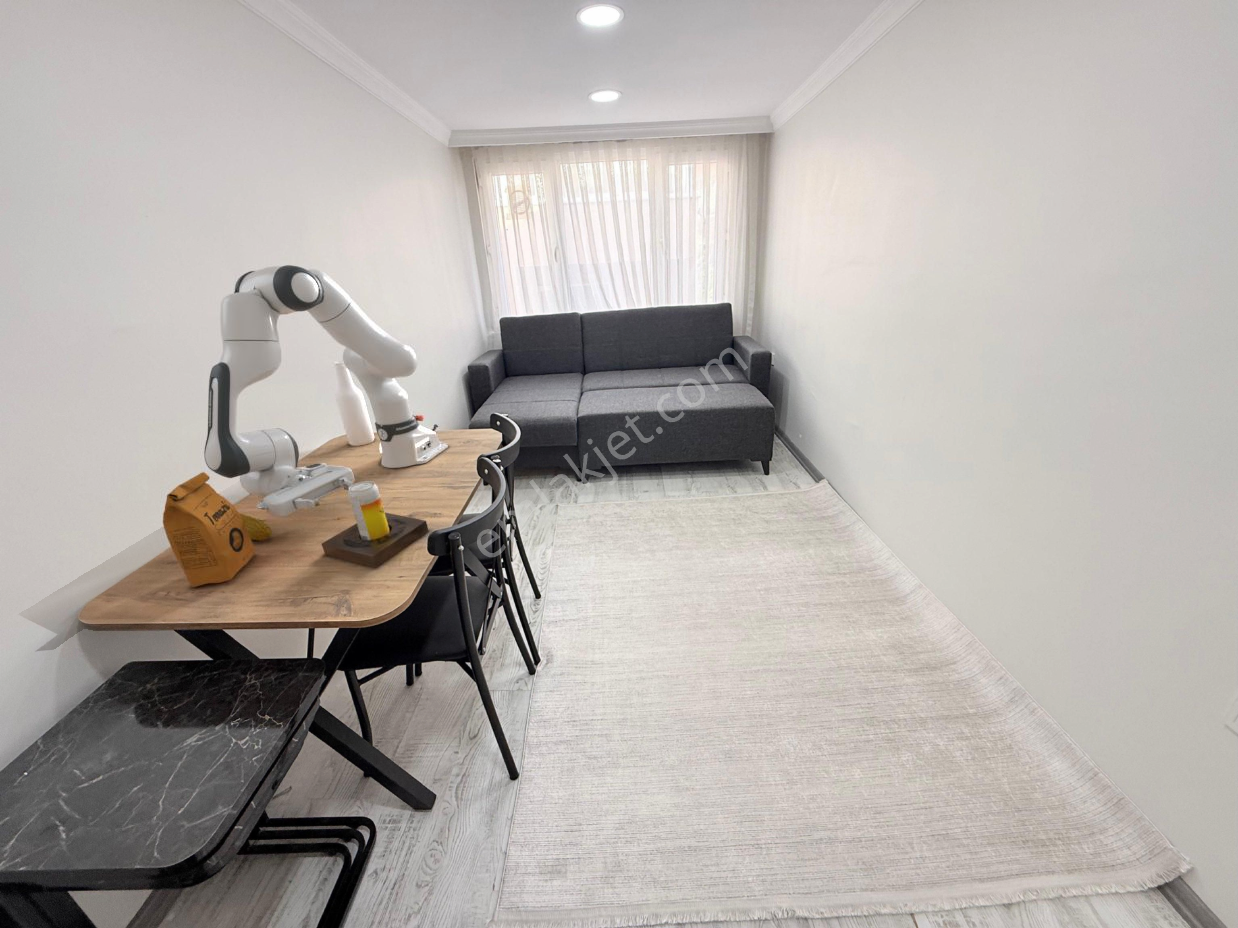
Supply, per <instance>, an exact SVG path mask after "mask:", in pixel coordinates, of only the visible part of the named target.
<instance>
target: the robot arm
mask: <svg viewBox="0 0 1238 928" xmlns="http://www.w3.org/2000/svg"><path fill="white" fill-rule="evenodd" d="M298 312H308V314H310V316H311V317H312V318H313V319H314V320H315V321H316V322H317V323H318V324H319V325H320V326H321V327H322V328H323V330H325V331H326V332H327V334H328V335H330V337H332V339H333V340H334V341H335V342H337V343H338V344H340V345H341V346H343V347H345V348H344V350H343V352H342V361H343V362H344V364H345V366H346V367H347V369H348V370H349V372H351V373H352V374H353V375H354V376H355V377H356V379H357V380H358V382H359V383H360V385H361V387H362V388H363V390H364V392H365V394H366V396H367V398H368V400H369V403H370V407H371V408H372V409H371V410H372V412H373V416H374V420H375V422H374V426H375V430H376V433H377V436H378V438H379V452H380V453H381V454H380V455H381V459H380V461H381V462H380V464H381V466H382V467H385V468H388V469H389V468H390V469H392V468H393V469H397V468H399V469H400V468H406V467H411V466H414V465H422V464H426V463H428V462H430V461H431V460H432V459H434V458H435V457H436V456H438V455H439V454H441V453H442V452H443V451H445V450H446V449H448V448H449V446H448V443H446V442H443V441H440V439H439V436H438V434H437V433H436V430H437V428H438V427H439V425H438V424H436V423H435V424H433V428H432V429H430V428H427V427H425V426H423V425H422V424H420V423H419V422H423V421H424V415H422V414H416V415H414V414H413V411H412V409H411V408H412V407H411V402H410V399H409V394H408V393H407V392H406V390H405V389H404V388H403V387H401V386H400V385H399V383H398V382H397V381H396V379H397V380H398V379H402V378H407V377H411V375H413V374H414V373H415V371H416V369H417V366H418V359H417V354H416V353H415V351H414V349H413V348H411V346H409V345H407V344H405V343H403V342H401V341H399V340H398V339H396V338H394V337H393V336H392V335H390V334H389V333H388V332H386V331H385V330H384V329H383V328H381V327H380V326H379V325H378V324H376V323H375V322H374V321H373V320H371V319H370V318H369V317H368V316H367V315H366V313H365V312H364V311H363V310H362V309H361V308H360V306H358V304H357V303H356V302H355V301H354V300H353V298H351V296H350V295H349V294H348V293H347V292H346V291H345V290H344V289H343V288H342V287H341V286H340V285H339V284H338V283H337V282H336V281H335V280H333V279H332V278H331V277H330V276H329V275H328V274H327V273H326V272H324V271H322V270H320V269H314V268H313V269H311V268H310V269H306V268H305V267H301V266H298V265H290V264H287V265H282V266H281V265H280V266H279V265H277V266H275V265H274V266H266V267H263V268H262V269H261V268H260V269H258V270H250V271H248V272H246V273H244V274H242V275H241V276H240V277H239V278H238V279H237V281H236V282H235V286H234V292H232V293H230V294H228V295H226V296H224V298H222V300H221V303H220V319H219V320H220V334H221V335H220V336H221V341H222V354H221V357H220V359H219V361H218V363H217V364H215V365H214V366H212V367H211V370H210V374H209V378H208V379H209V380H208V401H207V402H208V403H207V435H206V440H205V445H204V452H203V453H204V455H203V456H204V462H205V464H206V466H207V468H208V469H209V470H210V471H212V472H213V473H215V474H217V475H219V476H221V477H224V478H227V479H234V478H236V477H237V478H238V477H239V483H240V486H241V488H242V489H243V490H244V491H246V492H247V493H248V494H249V495H251V496H253V497H256V498H259V499H262V500H260V501H259V502H258V504H256V508H257V509H258V510H263V511H266V512H267V513H268V514H270V515H272V516H275V517H278V518H282V517H283V518H284V517H287V516H289V515H291V514H293V513H295V512H297V511H300V510H303V509H315V508H317V507H318V506H320V502H319V500H321V499H324V498H325V497H327V496H329V495H332V494H333V493H335V492H337V491H340V490H341V489H344V490H345V491H349V487H350V486H352V485H353V484H354V483H355V475H354V472H353V470H352V469H351V468H349V467H346V466H342V465H333V464H332V465H327V464H326V463H325V462H317V463H313V464H310V465H305V466H299V467H298V464H299V460H300V459H299V458H300V450H299V446H298V443H297V441H296V440H295V438H294V437H293V436H292V435H291V434H289V432H287V431H286V430H284V429H282V428H280V427H278V428H269V429H261V430H260V429H259V430H254V431H246V432H239V433H238V432H237V415H238V414H237V410H238V407H237V406H238V398H239V396H240V394H241V393H242V392H243V391H244V390H245V389H247V388H248V387H251V386H252V385H254V384H256V383H258V382H261V381H263V380H265V379H268V378H269V377H270V376H272V375H273V374H274V373H275V372H276V371H277V370H278V369H279V368H280V367H281V363H282V348H281V342H280V337H279V332H278V328H277V327H278V325H277V324H278V320H279V317H280V316H281V315H288V314H292V313H298Z"/></svg>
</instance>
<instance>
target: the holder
mask: <svg viewBox="0 0 1238 928" xmlns="http://www.w3.org/2000/svg"><path fill="white" fill-rule="evenodd" d="M385 516H386V519H387V523H388V527H389V530H390V533H388V534H387V535H385V536H383V537H381V538H378V539H374V540H362V538H361V535H360V532H359V529H358V525H357V522H355V523H354V524H353V525H351V526H349V527H348V528H346V529H344V530H343V531H341V532H339V533H337V534H335V535H334V536H332V537H331V538H329V539H327V540H325V541H323V542H322V543H321V547H322V549H323V550H322V551H323V552H324V555H325V556H329V557H333V558H335V559H336V558H337V559H340V560H344V561H348V562H352V563H355V564H358V565H359V564H360V565H363V566H367V567H371V568H375V569H377V568H378V567H380V566H381V565H383V564H384V563H385V562H387V561H389V560H390V559H391V558H393V557H394V556H396V555H397V554H398V553H400V552H401V551H403V550H404V549H405V548H407V547H408V546H410V545H411V544H413V543H414V542H415V541H417V540H418V539H420V538H421V537H423V536H424V535H425V534H427V533H429V527H428V522H427V520H424V519H419V518H415V517H409V516H405V515H400V514H394V513H389V512H385Z"/></svg>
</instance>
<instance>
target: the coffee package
mask: <svg viewBox="0 0 1238 928" xmlns="http://www.w3.org/2000/svg"><path fill="white" fill-rule="evenodd" d="M209 480H210V476H209V474H207V473H206V472H205V471H202V472H200V473H199V474H197V475H195V476H193V477H191V478H190V479H187V480H186V481H184V482H182V483H180V484H178V485H177V486H176V487H174V489H172V490H171V491H170V492H169V493H167V495H166V500H165V504H164V510H163V513H162V525H163V529H164V531H165V534H166V538H167V541H168V543H169V544H170V548H171V550H172V552H173V554H174V556H175V558H176V560H177V561H178V563H179V565H180V567H181V569H182V571H183V572H184V575H185V577H186V580H187V582H188V584H189V585H190V586H191V587H192V588H197V587H200V586H204V585H206V584H207V585H208V584H220V583H224V582H226V581H231V580H232V579H233V578H234V577H235V575H236V574H237V573H238V572H240V571H241V569H242V568H243V567H245V566H246V565H247V564H248V563H249V561H251V559H252V558H253V557H254V556H255V553H256V547H255V546H254V544H253V540H251V539H250V537H249V535H248V533H247V530H246V528H245V525H244V522H243V519H242V517H241V515H240V514H239V513H240V512H239V511H238V509H237V508H236V507H235V505H233V504H232V503H231V502H230V501H229V500H228V499H227V498H225V497H224V496H222V495H221V494H219V493H218V492H217V491H216V489H214V488H213V487H212V485H210V484H209V483H206V482H208V481H209Z"/></svg>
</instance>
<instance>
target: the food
mask: <svg viewBox="0 0 1238 928" xmlns="http://www.w3.org/2000/svg"><path fill="white" fill-rule="evenodd" d="M239 514H240V515H241V517H242V519H243V522H244V525H245V528H246V530H247V533H248V535H249V537H250V539H251V541H253V540H255V541H263V540H267V539H269V538H270V537H271V535H272V529H271V527H270V525H268V523H266V522H265V521H263V520H261V519H260V518H255V517H252V516H250V515H246V514H244V513H241V512H239Z"/></svg>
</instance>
